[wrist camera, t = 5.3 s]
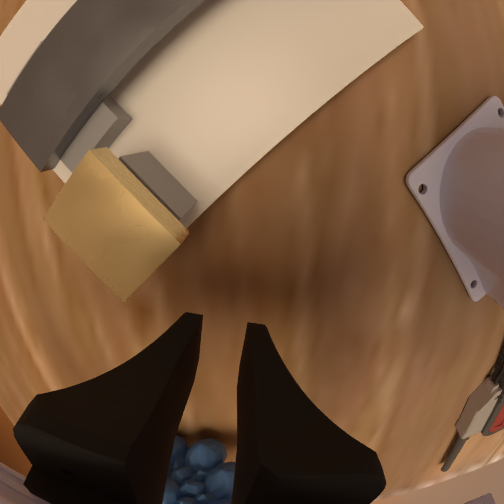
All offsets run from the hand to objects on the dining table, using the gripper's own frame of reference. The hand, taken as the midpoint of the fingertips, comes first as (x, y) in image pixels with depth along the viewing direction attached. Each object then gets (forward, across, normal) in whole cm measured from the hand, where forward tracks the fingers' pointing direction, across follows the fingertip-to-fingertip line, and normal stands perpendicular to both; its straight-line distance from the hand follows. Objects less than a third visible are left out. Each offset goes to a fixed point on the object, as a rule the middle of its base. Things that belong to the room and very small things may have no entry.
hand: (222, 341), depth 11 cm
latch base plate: (+5, +5, -12) cm, 14 cm away
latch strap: (+2, +5, -12) cm, 13 cm away
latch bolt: (0, +4, -4) cm, 6 cm away
